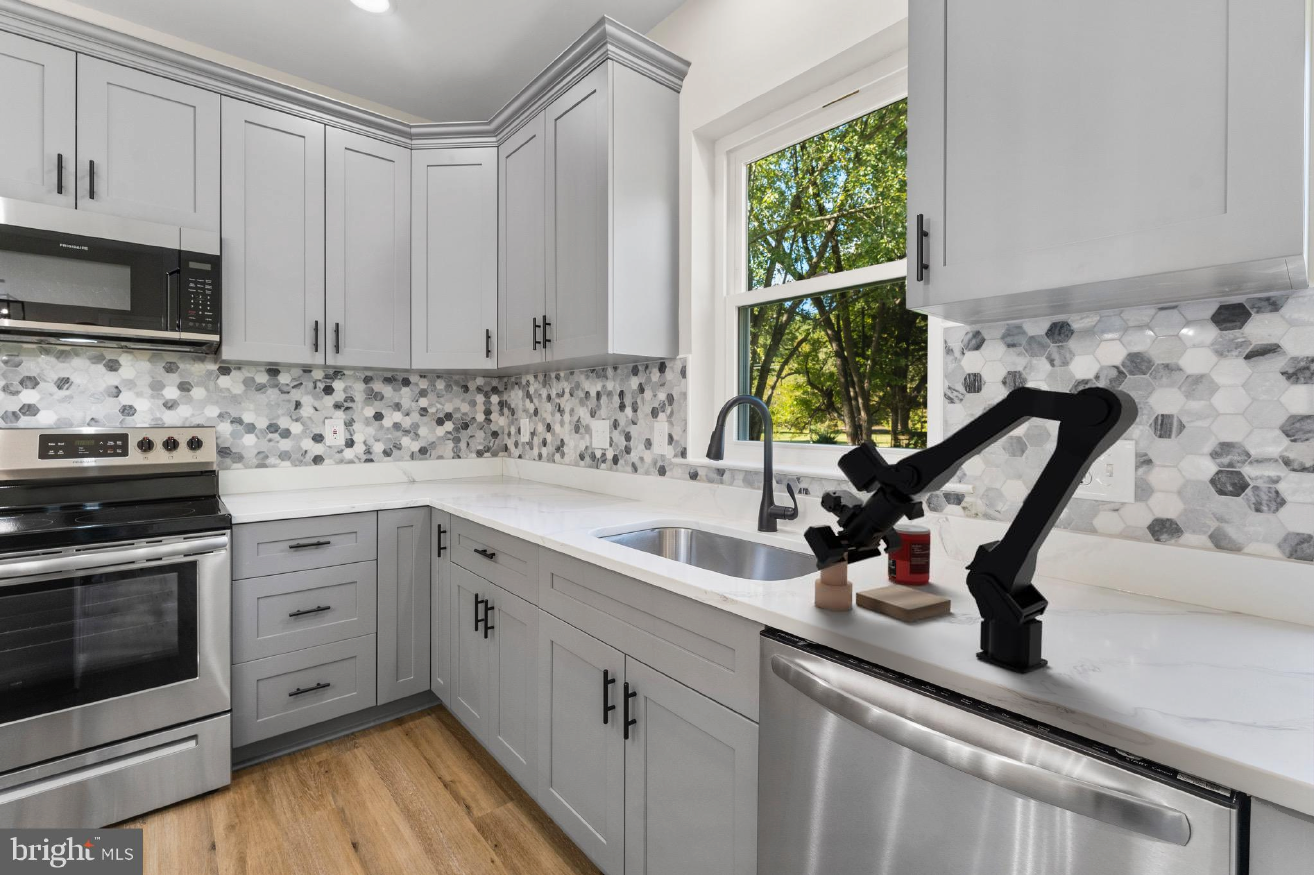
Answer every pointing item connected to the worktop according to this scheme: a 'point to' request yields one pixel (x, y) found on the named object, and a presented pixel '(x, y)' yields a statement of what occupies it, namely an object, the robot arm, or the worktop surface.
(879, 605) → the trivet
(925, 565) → the canned food
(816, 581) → the peach chess pawn
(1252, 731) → the worktop surface
